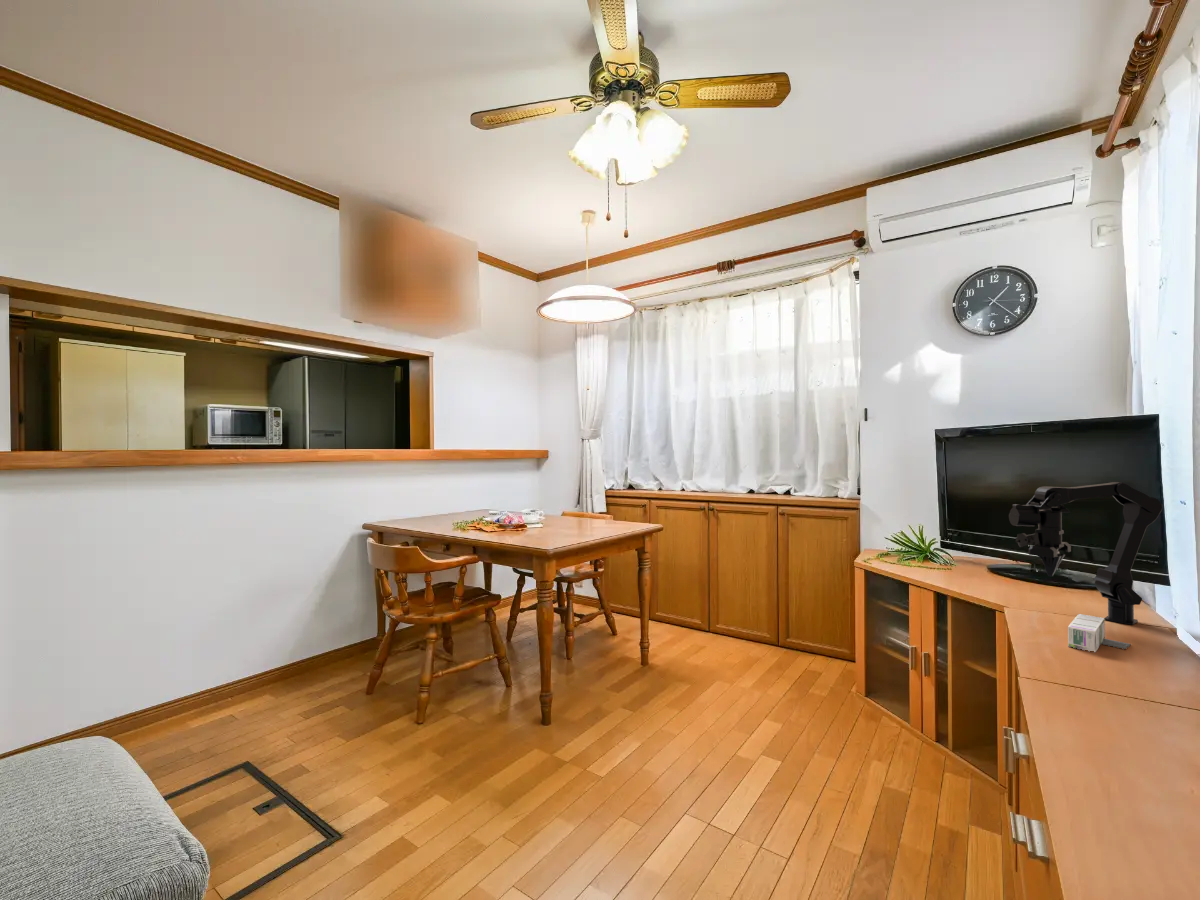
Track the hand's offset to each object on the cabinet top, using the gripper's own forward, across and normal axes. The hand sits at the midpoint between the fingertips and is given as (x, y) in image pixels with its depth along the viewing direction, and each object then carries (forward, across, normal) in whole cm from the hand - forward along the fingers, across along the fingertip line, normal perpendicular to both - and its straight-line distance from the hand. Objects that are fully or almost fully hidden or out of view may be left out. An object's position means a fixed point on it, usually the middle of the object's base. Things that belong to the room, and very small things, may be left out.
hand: (1050, 576), depth 171 cm
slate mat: (+13, +16, +16) cm, 26 cm away
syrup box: (+10, +14, +13) cm, 21 cm away
